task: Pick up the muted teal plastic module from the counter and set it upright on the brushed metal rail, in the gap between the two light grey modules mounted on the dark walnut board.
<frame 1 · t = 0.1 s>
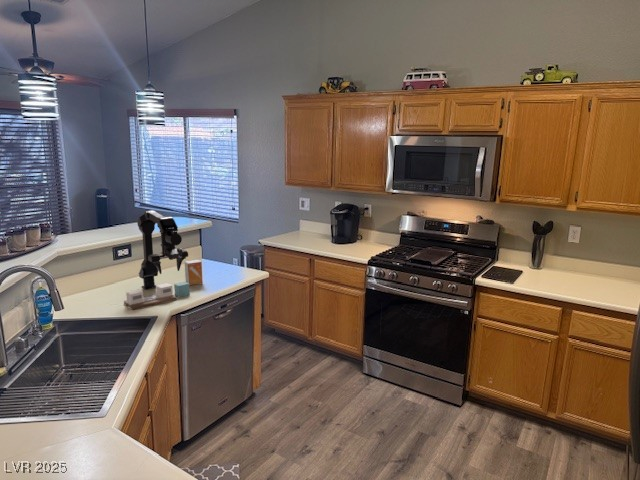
hand: (169, 272, 225), 15 cm above the countertop, tool pointing down, fingers open, 9 cm apart
rail board: (150, 301, 225), on the countertop
small box: (194, 283, 255), on the countertop
metal rail: (150, 298, 224), on the rail board, point 2 cm above the countertop
mounted modules: (150, 293, 223), on the metal rail, point 4 cm above the countertop
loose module: (182, 294, 236), on the countertop
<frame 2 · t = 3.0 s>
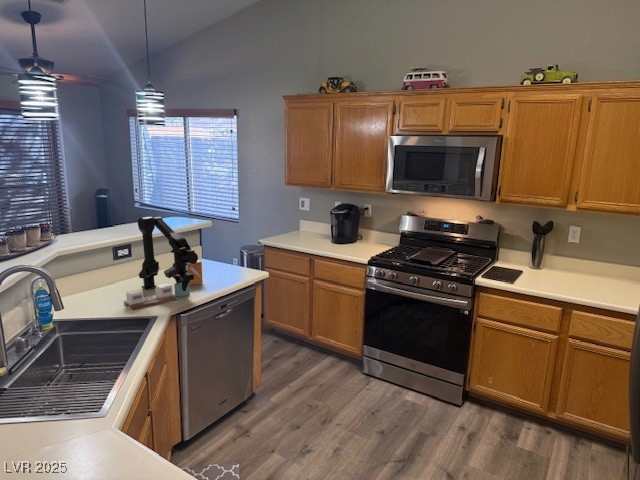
hand: (182, 289, 235), 3 cm above the countertop, tool pointing down, fingers closed on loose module, 5 cm apart
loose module: (182, 294, 236), on the countertop, touching gripper
everything else where it was.
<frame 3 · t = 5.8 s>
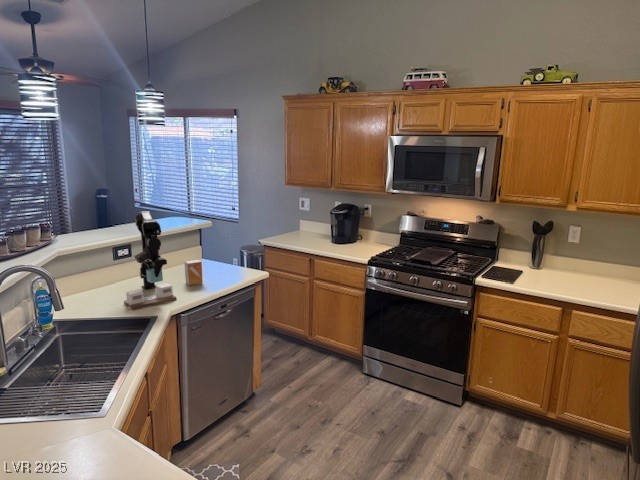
hand: (154, 275, 224), 13 cm above the countertop, tool pointing down, fingers closed on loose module, 5 cm apart
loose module: (155, 280, 224), point 10 cm above the countertop, touching gripper
everything else where it was.
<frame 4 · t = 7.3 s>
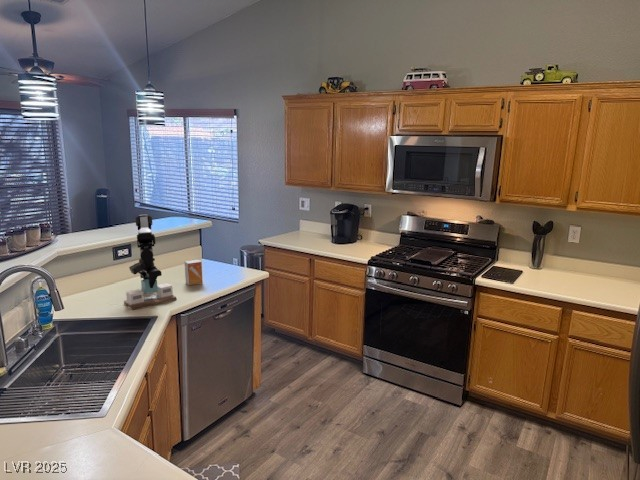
hand: (149, 286, 223), 8 cm above the countertop, tool pointing down, fingers closed on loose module, 5 cm apart
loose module: (149, 291, 224), point 5 cm above the countertop, touching gripper
everything else where it was.
when the fingers open (5 cm above the countertop, at t = 8.7 s): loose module stays where it is, resting on metal rail.
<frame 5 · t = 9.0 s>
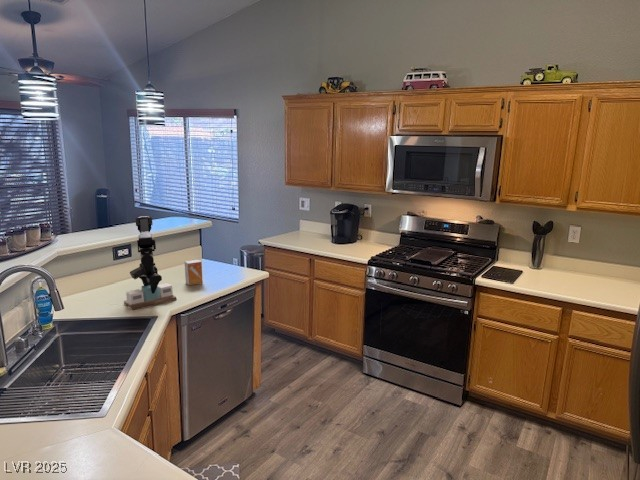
hand: (149, 291, 223), 5 cm above the countertop, tool pointing down, fingers open, 8 cm apart
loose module: (150, 298, 224), point 2 cm above the countertop, touching metal rail
everything else where it was.
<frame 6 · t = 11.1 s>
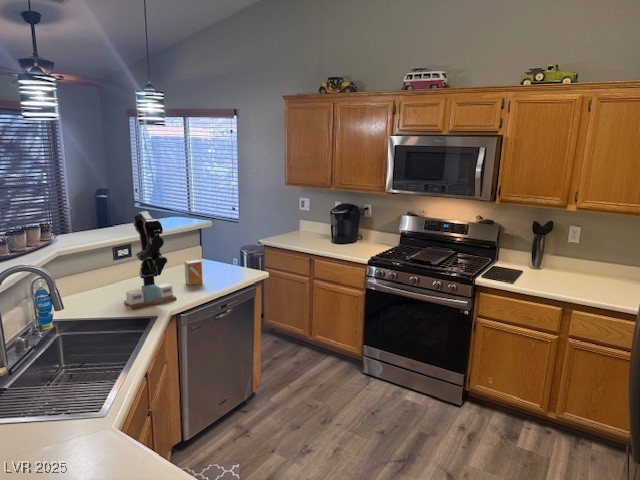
hand: (155, 273, 230), 13 cm above the countertop, tool pointing down, fingers open, 9 cm apart
nothing on the countertop moved.
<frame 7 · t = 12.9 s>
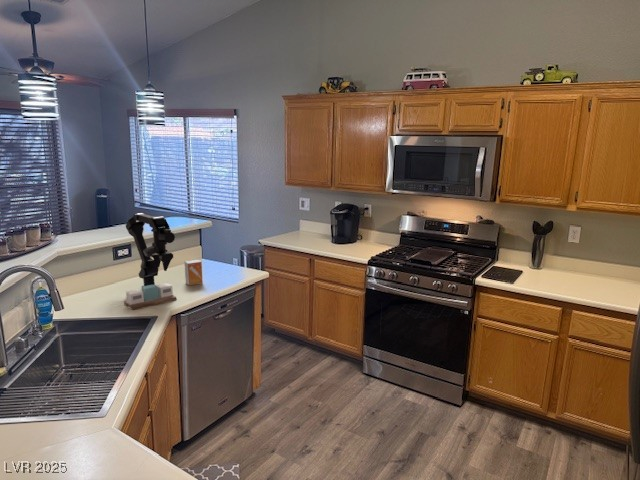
hand: (161, 269, 236), 13 cm above the countertop, tool pointing down, fingers open, 9 cm apart
nothing on the countertop moved.
at the end: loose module 0.0 cm off-centre on the rail board, point 2.0 cm above the rail board's base; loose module tilted 0°; the gripper is holding nothing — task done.
